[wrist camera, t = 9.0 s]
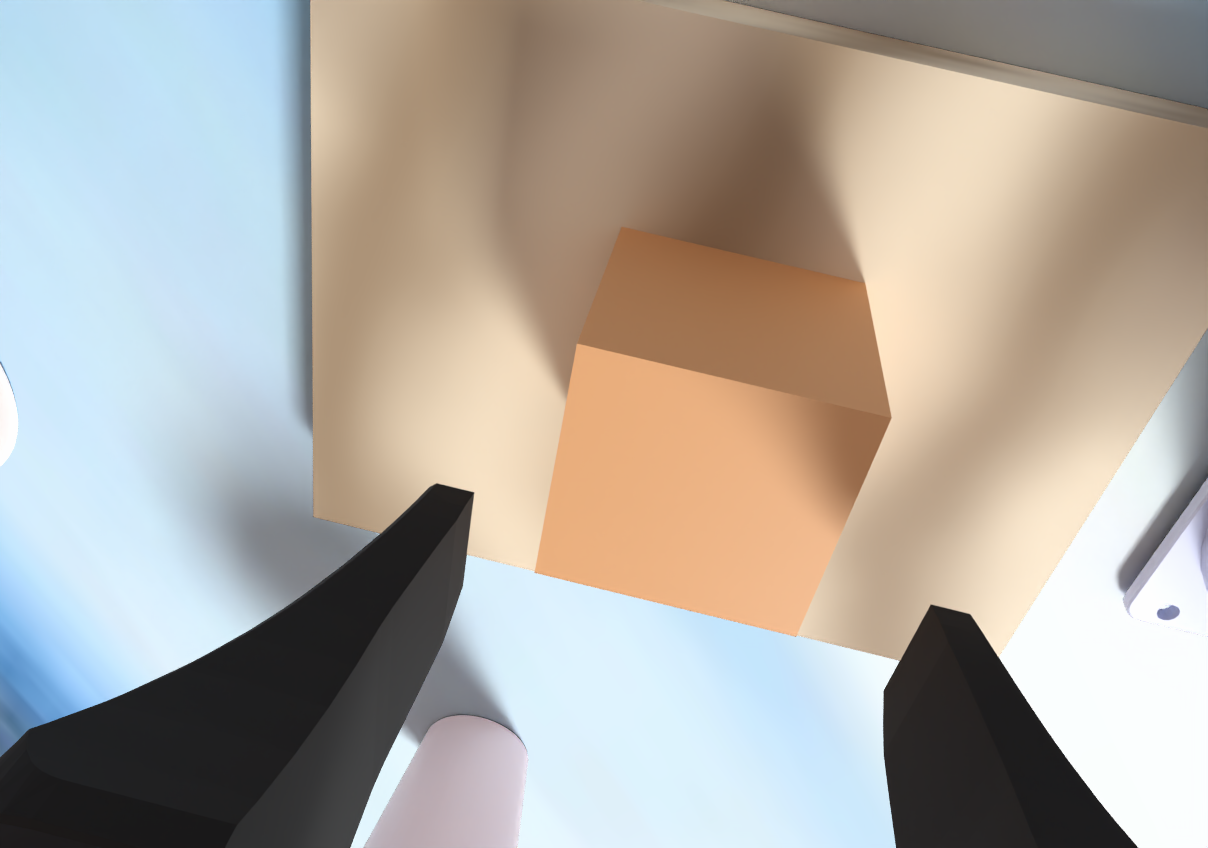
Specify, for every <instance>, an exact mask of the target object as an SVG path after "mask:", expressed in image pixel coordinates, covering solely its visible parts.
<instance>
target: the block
mask: <svg viewBox="0 0 1208 848" xmlns="http://www.w3.org/2000/svg"><path fill="white" fill-rule="evenodd" d="M891 419H892V417H891V412H890V407H889V402H888V396H887V391H886V386H885V381H884V376H883V371H882V366H881V361H880V356H879V350H878V345H877V340H876V335H875V330H874V325H873V320H872V315H871V310H870V304H869V299H868V294H867V289H866V284H865V283H862V282H858V281H853V280H849V279H845V278H841V277H836V276H832V275H828V274H823V273H819V272H815V271H810V270H806V269H802V268H798V267H793V266H789V265H785V264H780V263H776V262H772V261H767V260H763V259H759V258H755V257H750V256H746V255H742V254H737V253H733V252H729V251H724V250H720V249H716V248H711V247H707V246H703V245H699V244H694V243H690V242H686V241H681V240H677V239H673V238H668V237H664V236H660V235H656V234H651V233H647V232H643V231H638V230H634V229H630V228H625V227H621V230H620V232H619V235H618V238H617V240H616V243H615V245H614V248H613V251H612V253H611V256H610V258H609V261H608V264H607V266H606V269H605V272H604V274H603V277H602V279H601V282H600V285H599V287H598V290H597V292H596V295H595V298H594V300H593V303H592V306H591V308H590V311H589V313H588V316H587V319H586V321H585V324H584V326H583V329H582V332H581V334H580V337H579V340H578V342H577V346H576V351H575V357H574V362H573V368H572V373H571V378H570V384H569V389H568V395H567V400H566V405H565V411H564V416H563V422H562V427H561V432H560V438H559V443H558V449H557V454H556V459H555V465H554V470H553V476H552V481H551V486H550V492H549V497H548V503H547V508H546V513H545V519H544V524H543V530H542V535H541V540H540V546H539V551H538V557H537V562H536V567H535V573H538V574H542V575H546V576H550V577H554V578H559V579H563V580H567V581H571V582H575V583H579V584H583V585H587V586H591V587H595V588H599V589H603V590H608V591H612V592H616V593H620V594H624V595H628V596H632V597H636V598H640V599H644V600H648V601H652V602H657V603H661V604H665V605H669V606H673V607H677V608H681V609H685V610H689V611H693V612H697V613H702V614H706V615H710V616H714V617H718V618H722V619H726V620H730V621H734V622H738V623H742V624H746V625H751V626H755V627H759V628H763V629H767V630H771V631H775V632H779V633H783V634H787V635H791V636H795V637H796V636H797V634H798V631H799V629H800V627H801V625H802V622H803V620H804V618H805V615H806V613H807V611H808V609H809V606H810V604H811V602H812V599H813V597H814V595H815V593H816V590H817V588H818V586H819V583H820V581H821V579H822V577H823V574H824V572H825V570H826V567H827V565H828V563H829V561H830V558H831V556H832V554H833V551H834V549H835V547H836V544H837V542H838V540H839V538H840V535H841V533H842V531H843V528H844V526H845V524H846V522H847V519H848V517H849V515H850V512H851V510H852V508H853V506H854V503H855V501H856V499H857V496H858V494H859V492H860V490H861V487H862V485H863V483H864V480H865V478H866V476H867V474H868V471H869V469H870V467H871V464H872V462H873V460H874V458H875V455H876V453H877V451H878V448H879V446H880V444H881V441H882V439H883V437H884V435H885V432H886V430H887V428H888V425H889V423H890V421H891Z"/></svg>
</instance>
